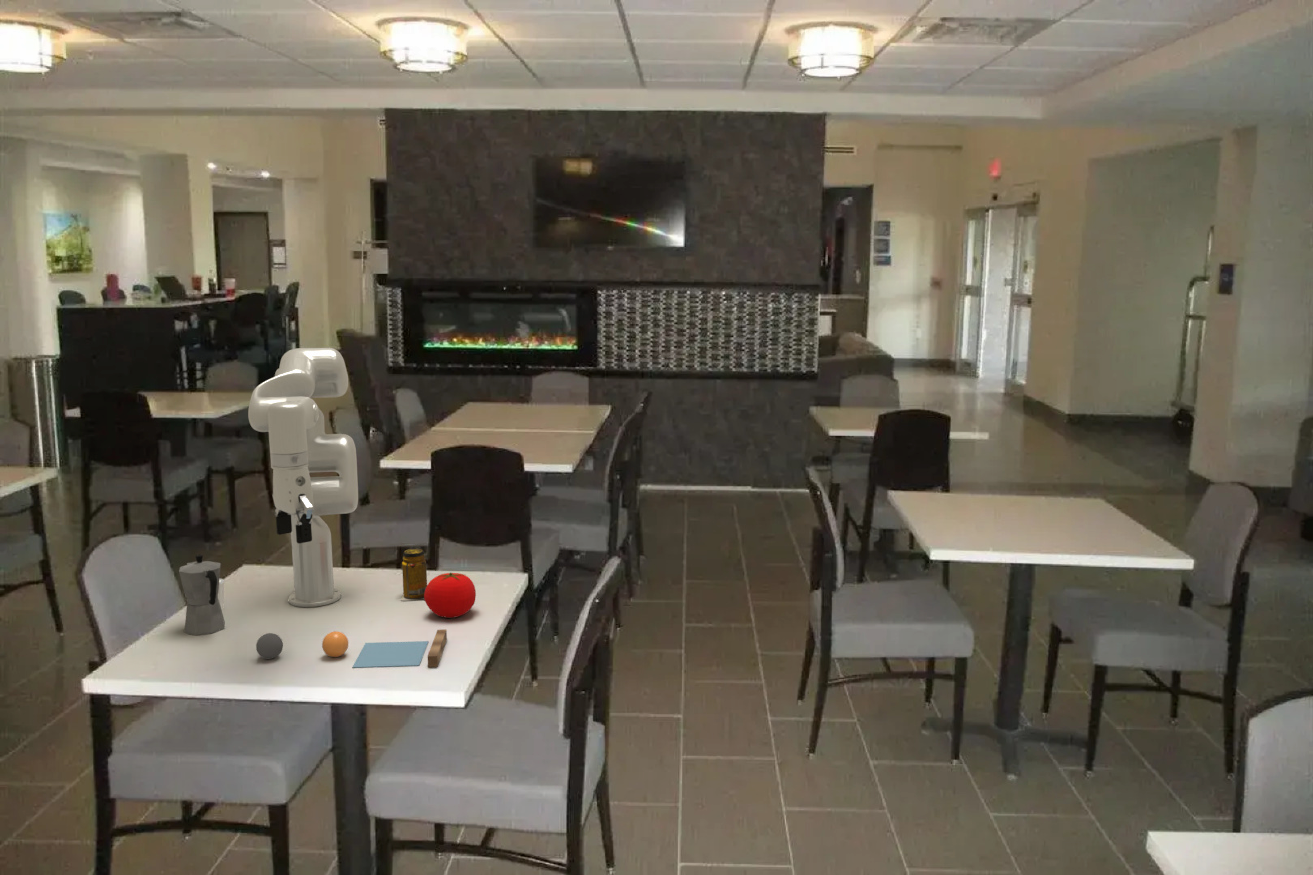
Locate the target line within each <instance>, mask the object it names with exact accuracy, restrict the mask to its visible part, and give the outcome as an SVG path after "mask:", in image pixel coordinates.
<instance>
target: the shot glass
mask: <svg viewBox="0 0 1313 875" xmlns="http://www.w3.org/2000/svg"><path fill="white" fill-rule="evenodd" d="M218 599H219V602H220V606H221V610H223V609H224V603H225V601H224V600H225V580H224V579H223V578H219V591H218Z"/></svg>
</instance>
